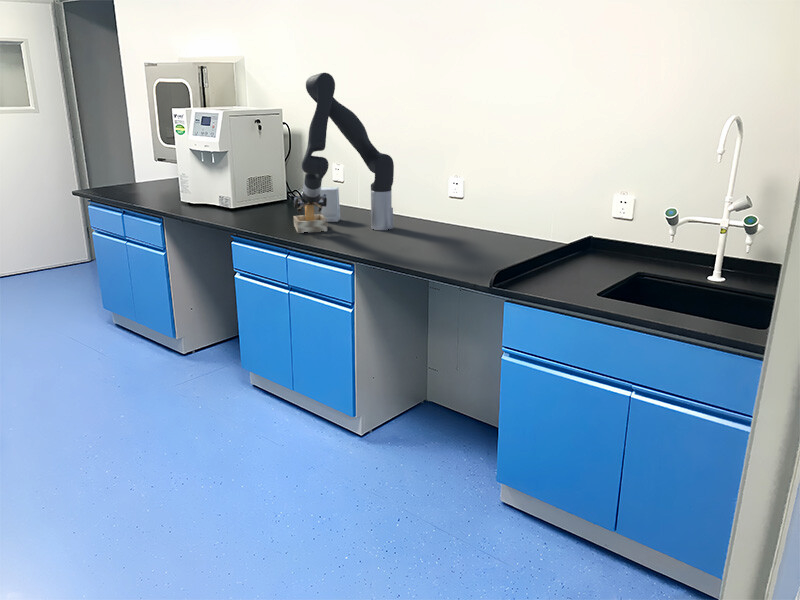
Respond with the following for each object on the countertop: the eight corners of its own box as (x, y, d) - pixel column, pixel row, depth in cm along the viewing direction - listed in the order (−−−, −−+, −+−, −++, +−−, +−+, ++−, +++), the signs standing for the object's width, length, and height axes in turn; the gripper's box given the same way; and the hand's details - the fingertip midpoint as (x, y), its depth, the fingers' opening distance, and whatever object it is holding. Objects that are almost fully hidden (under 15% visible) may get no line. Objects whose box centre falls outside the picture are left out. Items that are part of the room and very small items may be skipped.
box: (322, 225, 291) (321, 214, 289) (327, 231, 279) (326, 220, 277) (294, 226, 287) (293, 216, 286) (297, 233, 276) (297, 221, 274)
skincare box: (340, 219, 303) (339, 187, 298) (337, 222, 297) (336, 189, 291) (323, 219, 304) (322, 186, 298) (320, 222, 297) (319, 189, 292)
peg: (314, 227, 285) (312, 201, 281) (315, 229, 282) (314, 203, 278) (305, 228, 284) (304, 202, 280) (306, 230, 281) (305, 203, 277)
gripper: (327, 181, 271) (323, 203, 285) (294, 182, 267) (292, 204, 281) (329, 195, 268) (326, 217, 282) (296, 197, 264) (294, 218, 278)
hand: (309, 210), depth 282 cm, fingers open, 8 cm apart
